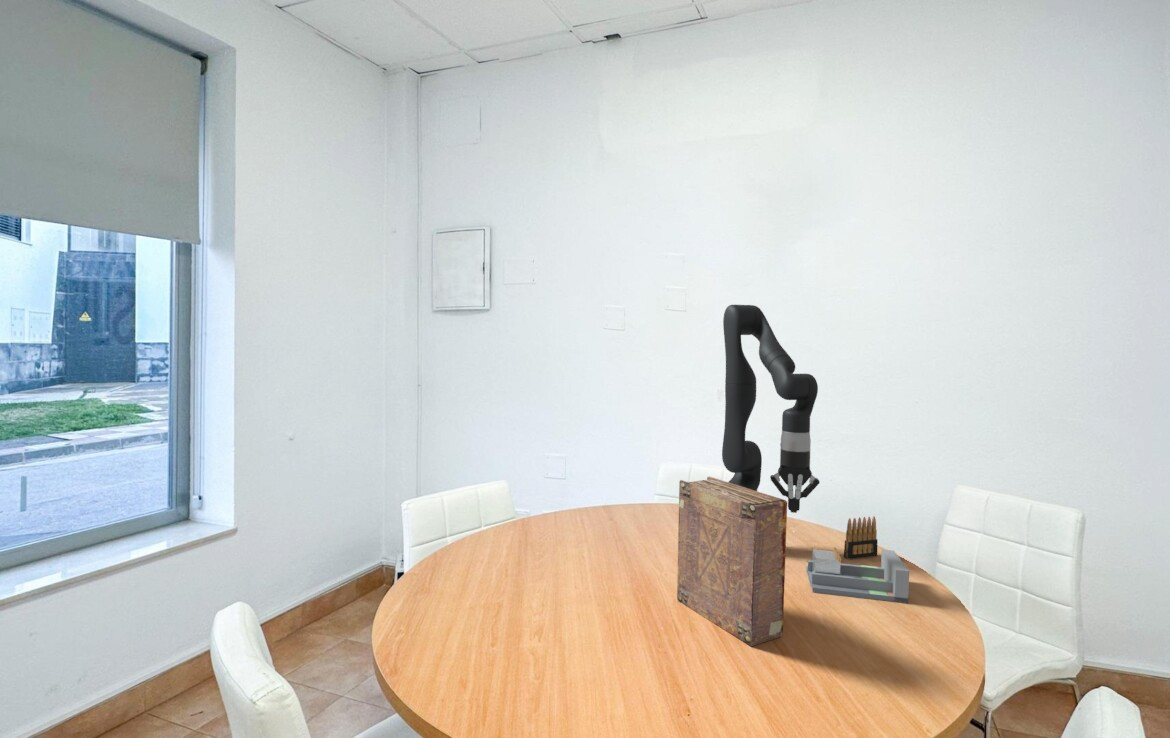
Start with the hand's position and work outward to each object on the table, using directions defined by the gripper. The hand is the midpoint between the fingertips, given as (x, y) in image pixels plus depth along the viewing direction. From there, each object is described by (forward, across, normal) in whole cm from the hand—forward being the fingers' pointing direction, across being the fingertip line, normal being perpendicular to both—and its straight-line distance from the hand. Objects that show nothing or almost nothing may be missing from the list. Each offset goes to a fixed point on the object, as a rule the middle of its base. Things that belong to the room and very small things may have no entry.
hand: (793, 511), depth 156 cm
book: (+19, -17, -28) cm, 37 cm away
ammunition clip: (+19, +22, +24) cm, 37 cm away
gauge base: (+18, +15, 0) cm, 24 cm away
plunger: (+17, +8, 0) cm, 19 cm away
